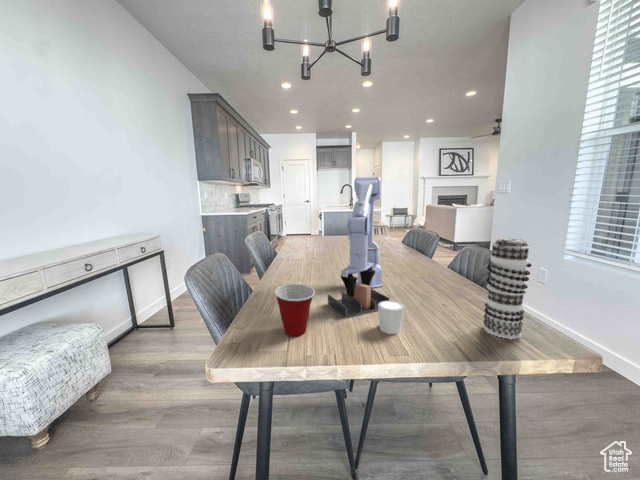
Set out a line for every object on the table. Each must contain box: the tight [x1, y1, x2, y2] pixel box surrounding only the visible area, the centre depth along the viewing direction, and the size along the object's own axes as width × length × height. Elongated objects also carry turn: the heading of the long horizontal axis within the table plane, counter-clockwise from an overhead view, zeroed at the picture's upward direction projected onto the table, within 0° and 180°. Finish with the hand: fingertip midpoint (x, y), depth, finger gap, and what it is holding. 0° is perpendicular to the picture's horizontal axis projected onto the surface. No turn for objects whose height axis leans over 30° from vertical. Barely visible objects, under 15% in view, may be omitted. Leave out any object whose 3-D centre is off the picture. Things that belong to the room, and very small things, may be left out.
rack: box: [327, 288, 391, 319], centre depth 86 cm, size 17×12×3 cm
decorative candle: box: [482, 237, 532, 339], centre depth 67 cm, size 9×9×25 cm
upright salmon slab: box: [345, 281, 372, 308], centre depth 86 cm, size 2×9×7 cm, turn 42°
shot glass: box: [377, 300, 405, 335], centre depth 71 cm, size 7×7×7 cm
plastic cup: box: [274, 283, 316, 338], centre depth 69 cm, size 11×11×12 cm
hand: (358, 293), depth 86 cm, fingers open, 7 cm apart
